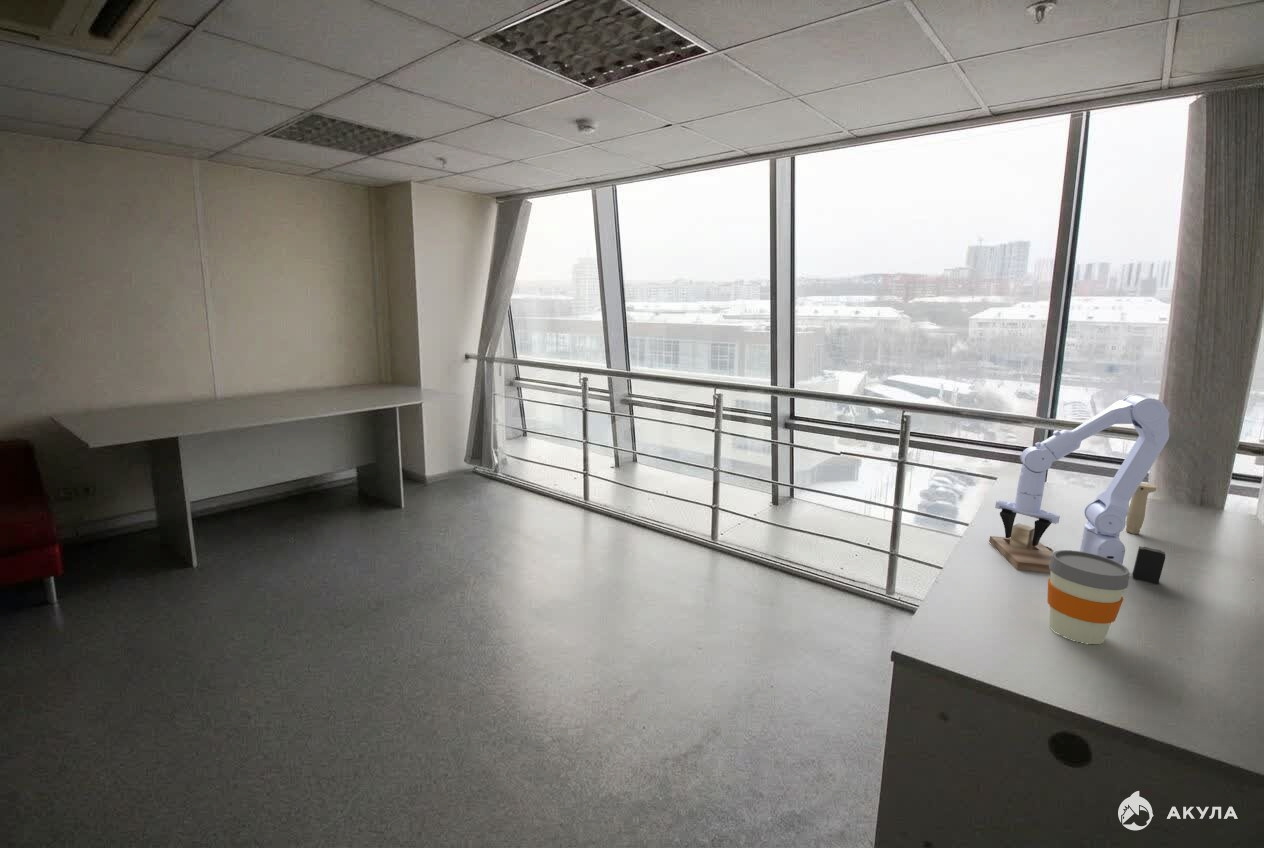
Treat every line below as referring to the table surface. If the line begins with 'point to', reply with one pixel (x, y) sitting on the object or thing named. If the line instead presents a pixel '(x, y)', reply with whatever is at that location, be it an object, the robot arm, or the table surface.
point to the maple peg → (1022, 536)
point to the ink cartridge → (1148, 565)
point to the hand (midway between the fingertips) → (1021, 541)
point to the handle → (1138, 508)
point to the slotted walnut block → (1024, 555)
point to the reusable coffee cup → (1084, 594)
